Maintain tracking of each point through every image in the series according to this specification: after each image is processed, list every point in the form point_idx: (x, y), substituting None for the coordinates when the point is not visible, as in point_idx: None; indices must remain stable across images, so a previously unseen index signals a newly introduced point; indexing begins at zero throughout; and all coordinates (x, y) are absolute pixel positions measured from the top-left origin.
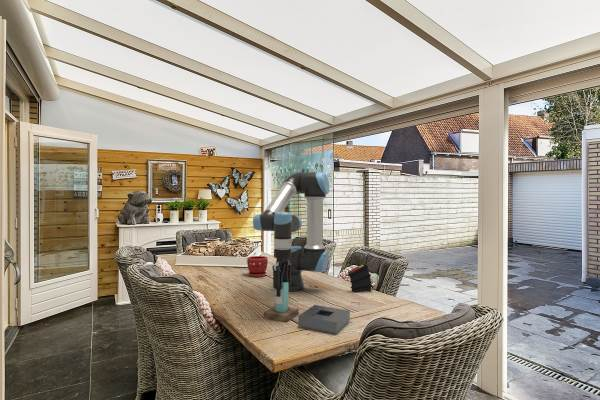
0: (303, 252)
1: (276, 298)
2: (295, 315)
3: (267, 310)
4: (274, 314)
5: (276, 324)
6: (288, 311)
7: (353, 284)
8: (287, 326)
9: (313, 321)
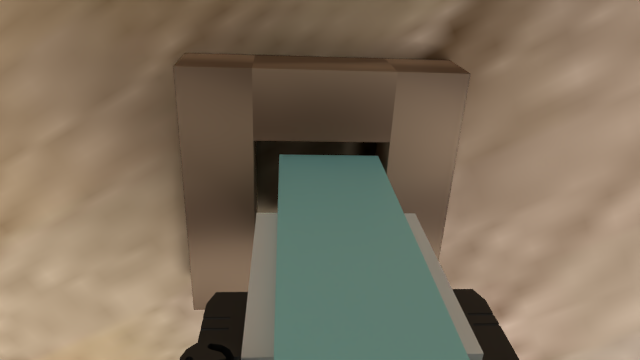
0: None
1: (253, 252)
2: None
3: (240, 76)
4: (185, 190)
5: (109, 232)
6: None
7: None
8: (126, 315)
9: None
